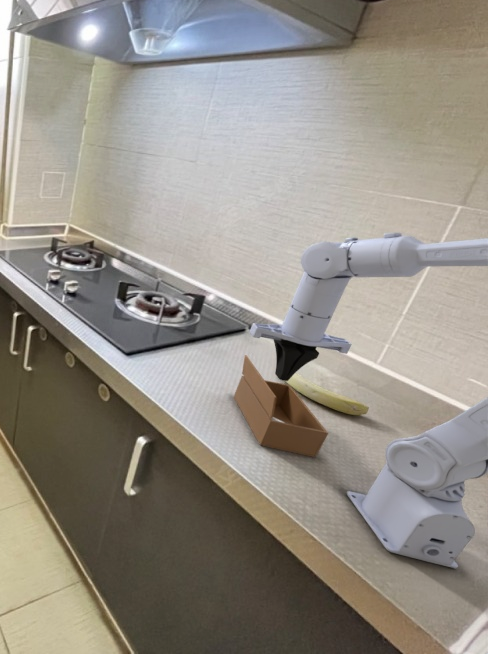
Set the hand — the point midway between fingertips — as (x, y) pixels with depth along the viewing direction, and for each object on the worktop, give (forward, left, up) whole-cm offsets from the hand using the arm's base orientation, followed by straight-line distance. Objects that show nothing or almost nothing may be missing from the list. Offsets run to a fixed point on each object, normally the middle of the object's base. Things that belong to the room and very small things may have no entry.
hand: (281, 377), depth 71 cm
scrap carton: (0, -2, -10) cm, 11 cm away
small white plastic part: (-1, -2, -9) cm, 9 cm away
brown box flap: (0, +3, -2) cm, 4 cm away
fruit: (+14, -17, -11) cm, 24 cm away
